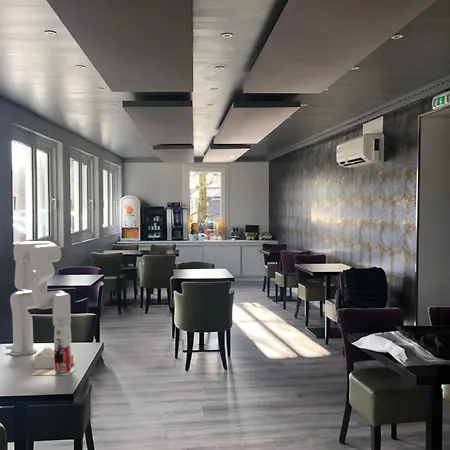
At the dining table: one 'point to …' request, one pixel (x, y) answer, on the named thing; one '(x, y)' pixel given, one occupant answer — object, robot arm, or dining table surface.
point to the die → (71, 359)
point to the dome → (47, 352)
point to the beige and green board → (50, 372)
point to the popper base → (44, 361)
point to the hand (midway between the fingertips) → (62, 359)
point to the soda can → (64, 361)
